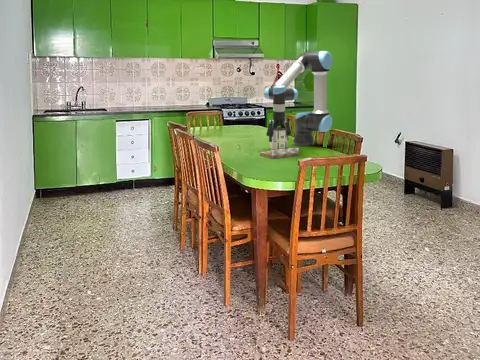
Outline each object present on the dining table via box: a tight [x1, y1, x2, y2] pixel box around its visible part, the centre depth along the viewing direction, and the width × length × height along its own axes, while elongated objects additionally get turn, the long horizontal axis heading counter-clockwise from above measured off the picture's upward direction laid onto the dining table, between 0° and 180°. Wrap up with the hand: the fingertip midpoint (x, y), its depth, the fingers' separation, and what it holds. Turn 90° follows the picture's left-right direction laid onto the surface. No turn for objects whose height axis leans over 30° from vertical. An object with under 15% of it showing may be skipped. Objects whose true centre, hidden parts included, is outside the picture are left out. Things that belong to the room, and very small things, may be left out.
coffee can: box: [270, 126, 288, 151], centre depth 317 cm, size 10×10×14 cm
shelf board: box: [259, 146, 300, 159], centre depth 318 cm, size 20×14×5 cm
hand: (278, 146), depth 318 cm, fingers closed on coffee can, 10 cm apart
